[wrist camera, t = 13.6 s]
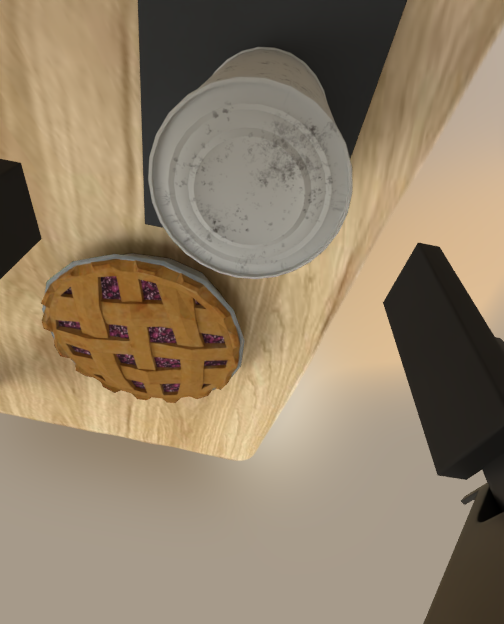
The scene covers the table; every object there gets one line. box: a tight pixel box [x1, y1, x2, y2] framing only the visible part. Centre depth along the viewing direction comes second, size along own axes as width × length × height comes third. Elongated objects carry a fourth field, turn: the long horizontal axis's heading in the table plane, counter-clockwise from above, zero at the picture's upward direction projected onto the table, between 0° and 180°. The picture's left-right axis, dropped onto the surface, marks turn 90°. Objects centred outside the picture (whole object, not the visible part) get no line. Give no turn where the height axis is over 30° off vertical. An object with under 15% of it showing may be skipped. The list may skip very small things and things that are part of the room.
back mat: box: [138, 0, 407, 228], centre depth 26 cm, size 20×16×1 cm
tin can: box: [148, 47, 352, 279], centre depth 21 cm, size 10×10×12 cm
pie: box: [41, 253, 244, 403], centre depth 39 cm, size 22×22×5 cm
